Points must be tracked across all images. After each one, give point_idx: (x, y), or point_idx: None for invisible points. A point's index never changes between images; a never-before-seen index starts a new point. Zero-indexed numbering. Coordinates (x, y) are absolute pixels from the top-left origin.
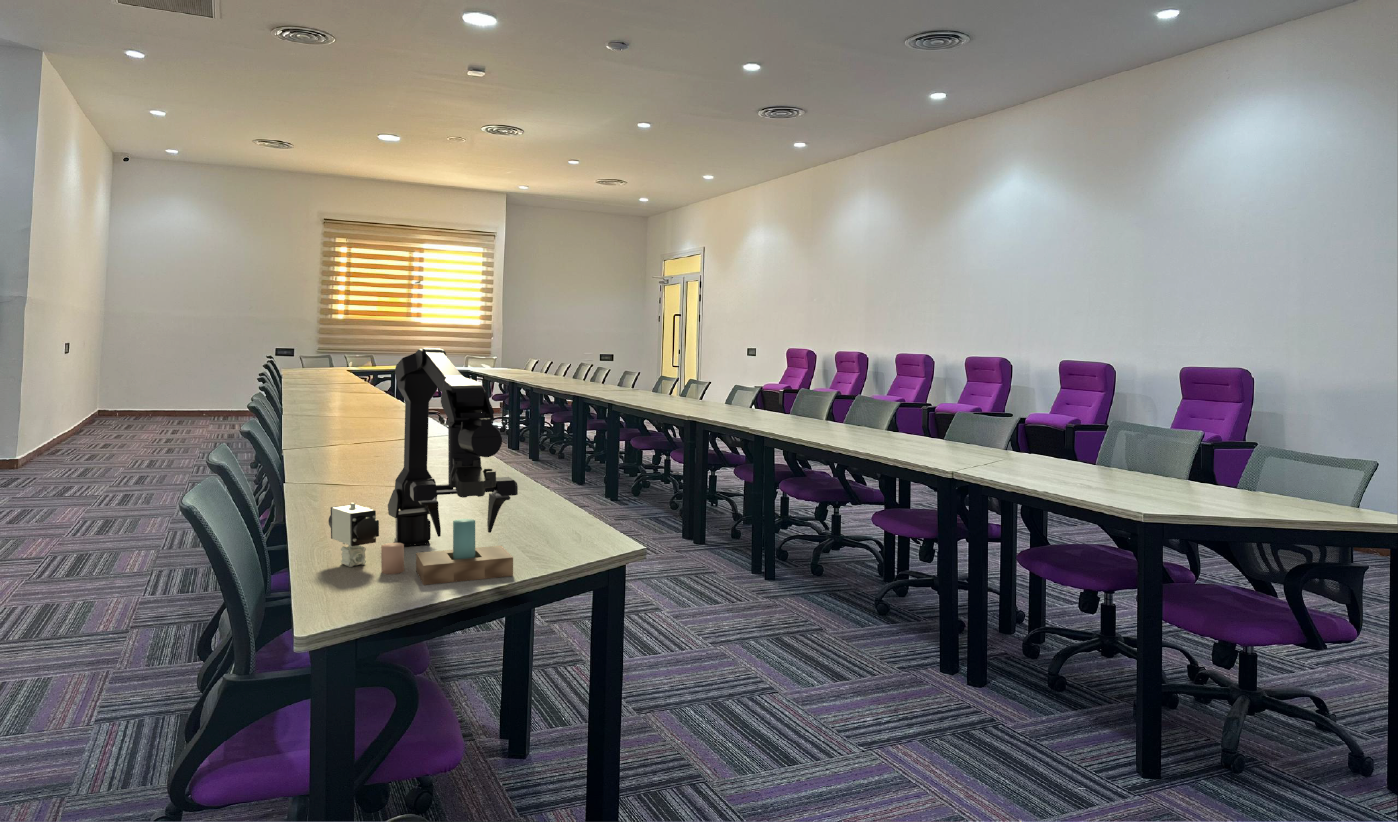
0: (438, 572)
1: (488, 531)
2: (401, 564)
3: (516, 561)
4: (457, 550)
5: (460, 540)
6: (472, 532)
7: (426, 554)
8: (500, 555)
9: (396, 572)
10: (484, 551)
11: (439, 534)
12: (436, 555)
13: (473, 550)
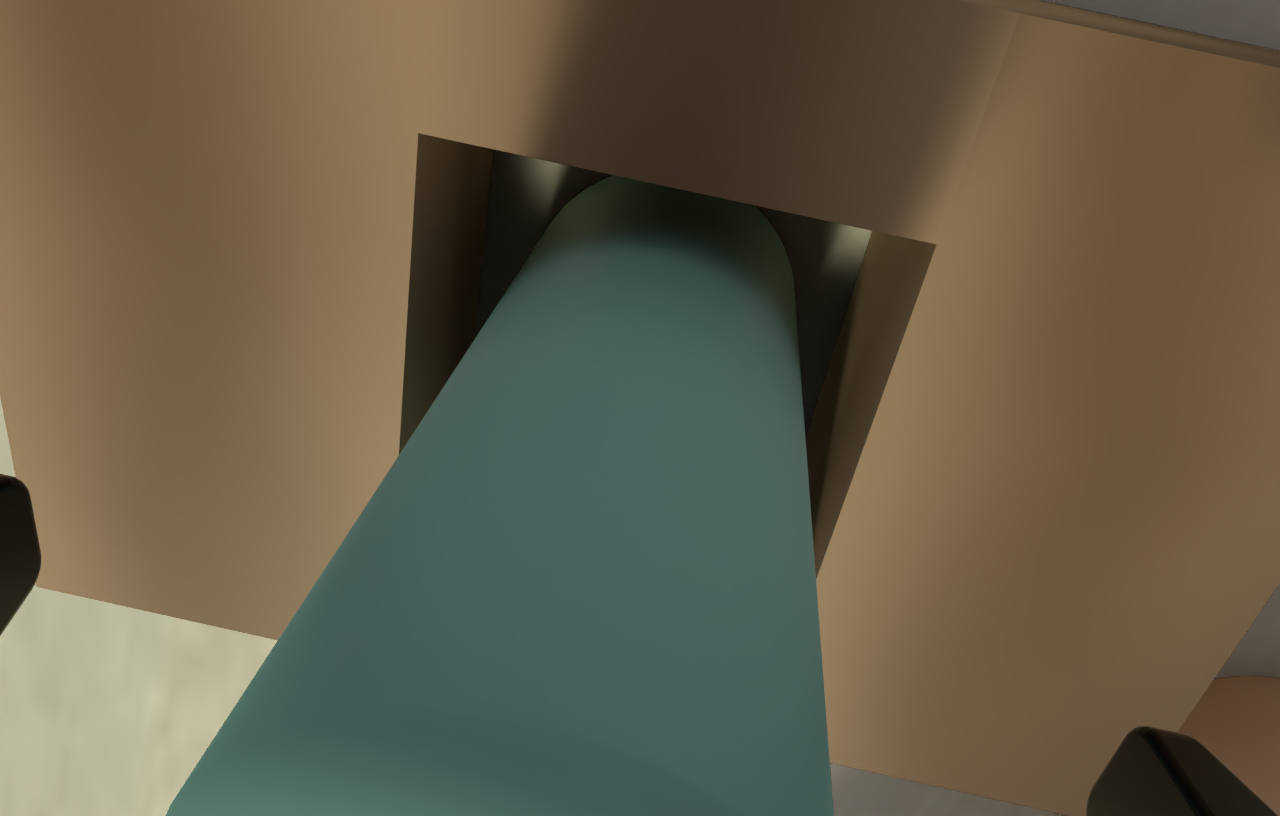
0: (1235, 49)
1: (19, 529)
2: (1227, 755)
3: (7, 433)
4: (783, 394)
5: (742, 451)
6: (414, 500)
7: (1060, 703)
8: (102, 67)
9: (1264, 686)
10: (301, 436)
11: (1197, 757)
12: (982, 596)
13: (504, 314)
